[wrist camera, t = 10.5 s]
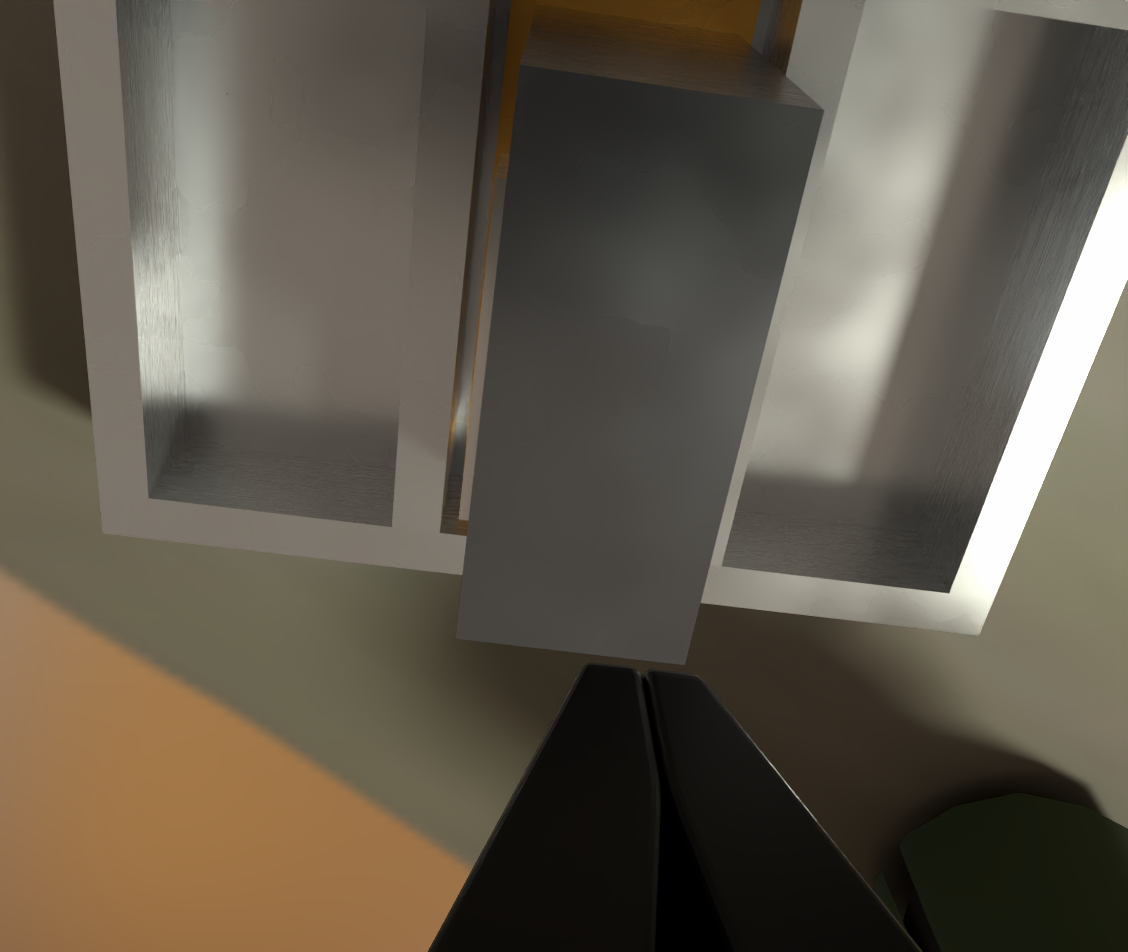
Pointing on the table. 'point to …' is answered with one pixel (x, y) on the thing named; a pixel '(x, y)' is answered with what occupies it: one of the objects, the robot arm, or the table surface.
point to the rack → (458, 259)
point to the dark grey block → (622, 328)
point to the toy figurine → (1016, 879)
